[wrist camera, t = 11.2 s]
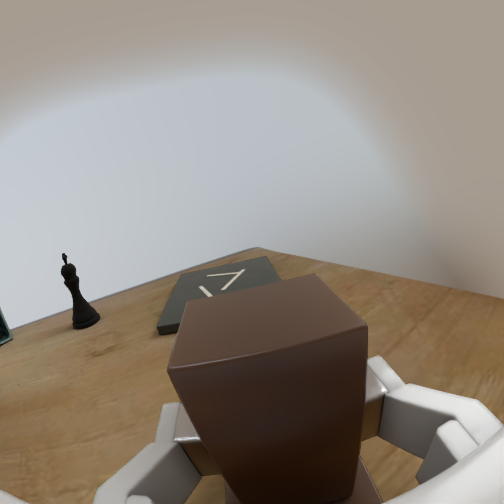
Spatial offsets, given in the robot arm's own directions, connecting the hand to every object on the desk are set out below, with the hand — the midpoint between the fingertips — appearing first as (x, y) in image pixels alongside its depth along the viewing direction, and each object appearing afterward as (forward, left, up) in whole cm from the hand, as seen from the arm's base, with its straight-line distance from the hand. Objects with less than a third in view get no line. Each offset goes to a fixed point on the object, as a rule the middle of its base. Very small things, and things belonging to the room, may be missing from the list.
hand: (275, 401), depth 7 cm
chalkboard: (-3, +28, -7) cm, 29 cm away
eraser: (0, -1, -7) cm, 7 cm away
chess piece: (-23, +26, -7) cm, 35 cm away
